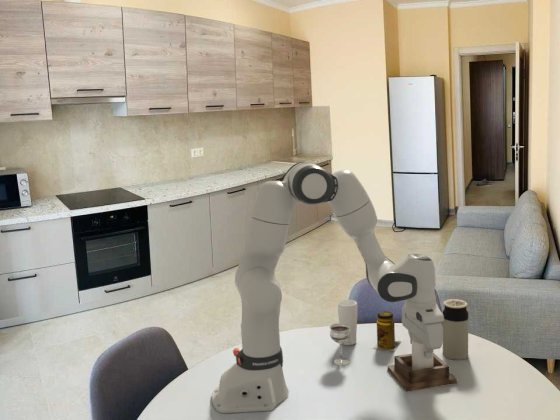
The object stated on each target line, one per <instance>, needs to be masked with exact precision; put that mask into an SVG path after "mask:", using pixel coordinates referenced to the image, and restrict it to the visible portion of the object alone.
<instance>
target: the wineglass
mask: <svg viewBox="0 0 560 420" xmlns="http://www.w3.org/2000/svg"><path fill="white" fill-rule="evenodd" d="M329 328H330V330H329V337H330V339H331V340H332V341H334V342H335V343H337V344H338V346H339V354H340V355H339V356H340V358H336V359H335V360H333V363H334V364H335V365H337V366H345V365H348V364H350V361H349V359H347V358H343V353H342V352H343V349H342V348H343V345H344V344H343V343H344V342H346V341H347V340H348V339H349V338H350V335H351V332H350V330H349V329H350V326H349V325H347V324H342V323H339V322H338V323H333V324H331V325H330V326H329Z"/></svg>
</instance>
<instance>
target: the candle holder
mask: <svg viewBox="0 0 560 420" xmlns="http://www.w3.org/2000/svg"><path fill="white" fill-rule="evenodd" d="M393 359H394V360H393V361H394V364H390V365H389V364H388V365H386V366H387V371H388V372H389V373H390V374H391V376H392V377H393V378H394V379H395V380H396V381H397V383H398V385H400V386H401V387H402V389H403V390H404V391H405V392H414V391H421V390H427V389H431V388H437V387H438V388H439V387H443V386H450V385H455V384H458V378H457V377H456V376H455V375H453V373H451V371H450V365H448V364H447V363H446V362H444V360H442V359H441V358H440V357H439V356H438V355H437V354H436V353H435V352H433V367H431V368H424V369H418V370H412V353H406V354H401V355H395V356H394V357H393Z"/></svg>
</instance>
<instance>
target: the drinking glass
mask: <svg viewBox="0 0 560 420" xmlns="http://www.w3.org/2000/svg"><path fill="white" fill-rule="evenodd" d="M337 316H338V323H342V324H347V325H349V326H350V329H349V330H350V332H351V335H350V338H349V339H348V340H347V341H346V342H344V343H343V344H342V345H344V346H353V345H355V344H357V330H358V329H357V327H358V302H357V301H356V300H353V299H342V300H340V301H338V302H337Z"/></svg>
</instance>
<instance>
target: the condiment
mask: <svg viewBox="0 0 560 420" xmlns="http://www.w3.org/2000/svg"><path fill="white" fill-rule="evenodd" d="M395 332H396V330H395V321H394V314H393V313H392V312H391V311H384V310H383V311H380V312H378V313H377V320H376V339H377V343H376V344H375V346H374V347H373V349H375V350H381V351H388V352H389V351H391V352H395V351H396V350H397V348H398V346H399V345H400V343H401V341H400V340H396V337H395V336H396V334H395Z"/></svg>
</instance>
